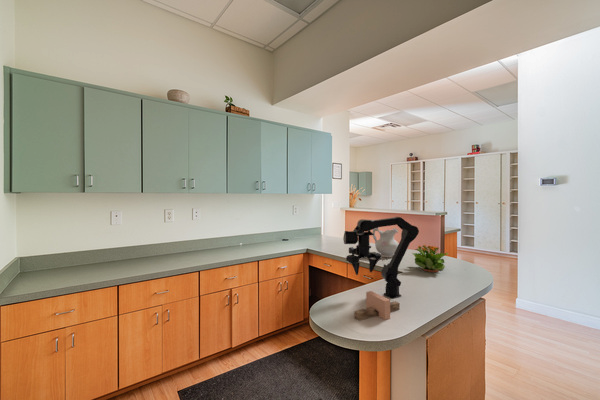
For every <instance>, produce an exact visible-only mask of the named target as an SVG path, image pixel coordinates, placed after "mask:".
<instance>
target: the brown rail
mask: <svg viewBox="0 0 600 400" xmlns="http://www.w3.org/2000/svg"><path fill="white" fill-rule="evenodd" d="M398 310H400V302H398V301H397V300H395V301H390V313H392V312H394V311H398ZM376 316H379V312H378V311H376V310H375V309H374V308H372V307H370V308H361V309H357V310H355V311H354V316H353V317H354V319H355V320H356V321H361V320H365V319H369V318H373V317H376Z"/></svg>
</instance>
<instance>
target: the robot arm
mask: <svg viewBox="0 0 600 400" xmlns="http://www.w3.org/2000/svg"><path fill="white" fill-rule="evenodd" d="M391 226H397V227H398V228H400V230H401V235H400V236H401V237H400V238H401V239H400V241H399V242H398V244H399V245H398V247H397V249H396V251H395V253H394V254H393V257H392V258H391V259H390V262H389V263H388V264H383V266H382V269H381V270H380V272H381V273H380V275H381V277H382V278H383V280H384V281H385V292H384V293H383V295H385V296H387V297H389V298H391V299H395V298H399V297H402V294H400V286H401V285H402V281H400V279H399V278H398V275H399V267H400V264H401V262H402V260H403V258H404V256H405V254H406V252H407V250H408V248H409V246H410V244H411V243H412V242H413V241H414V240H415V239H416V238H417V237H418V235H419V233H420V231H419V228H418V227H417V226H415V225H412V224H411V223H409V222H408V221H407V220H405V219H404V218H402V216H394V217H388V218H380V219H365V218H364V219H359V220H358V221H357V223H356V226H355V228H354V229H353V231H352V230H350V231H349V230H345V231H344V234H343V237H342V238H343V243H344V245H356V243H358V244H357V245H356V247H354V246H351V247H348V253H349V255H346V256H345V258H346V259H345V261H346V262H348V263H350V264H351V265H352V268H353V270H354V273H355V275H356V276H358V275H359V271H360V264H361V263H360V260H365V259H367V260H368V262H369V265H368V267H369V273H373V270H374V269H375V267H376V265H377V263H378V262H379V261H380V260H381V259H382V257H381V253H379V252H375V251H371V252H370V249H371V248H372V246H371V245H370V236H373V235H374V234H373V233H372V231H373V229H375V228H377V227H378V228H383V227H391Z"/></svg>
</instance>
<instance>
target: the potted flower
mask: <svg viewBox="0 0 600 400" xmlns="http://www.w3.org/2000/svg"><path fill="white" fill-rule="evenodd" d="M439 249H440V248H439V246H438V247H437V246H435V245H426V244H423V245H422V246H421V245H418V246H417V248H416V249H414V250H415V251H418V252H415V253H414V252H412V255H413V256H414V257H415V258H414V263H415V265H416V266H417V267H419V268H421V269H423V271H425V272H428V273H437V272H438V271H443V270H444V269H445V268H446V265H445V263H446V262H445V259H444V258H443V257H444V256H446V255H449V252H439ZM437 252H438V253H437Z"/></svg>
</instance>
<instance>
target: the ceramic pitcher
mask: <svg viewBox="0 0 600 400" xmlns="http://www.w3.org/2000/svg"><path fill="white" fill-rule="evenodd" d="M371 232H372V233H373V234H374V235H372V238H373V240H374V244H375V250H376V251H377V253H380V255H381V258H391V259H392V257H393V255H394V253H395V251H396V249H397V247H398V245H399V242H398V241H397V240H396V239H395V235H396V234H398V233H399V230H398V229H397V228H396V227H395V228H392V229H391V230H390V229H386V230H379V227H377V228H375V229H373V230H371ZM376 232H378V233H379V239H377V236H376Z"/></svg>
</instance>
